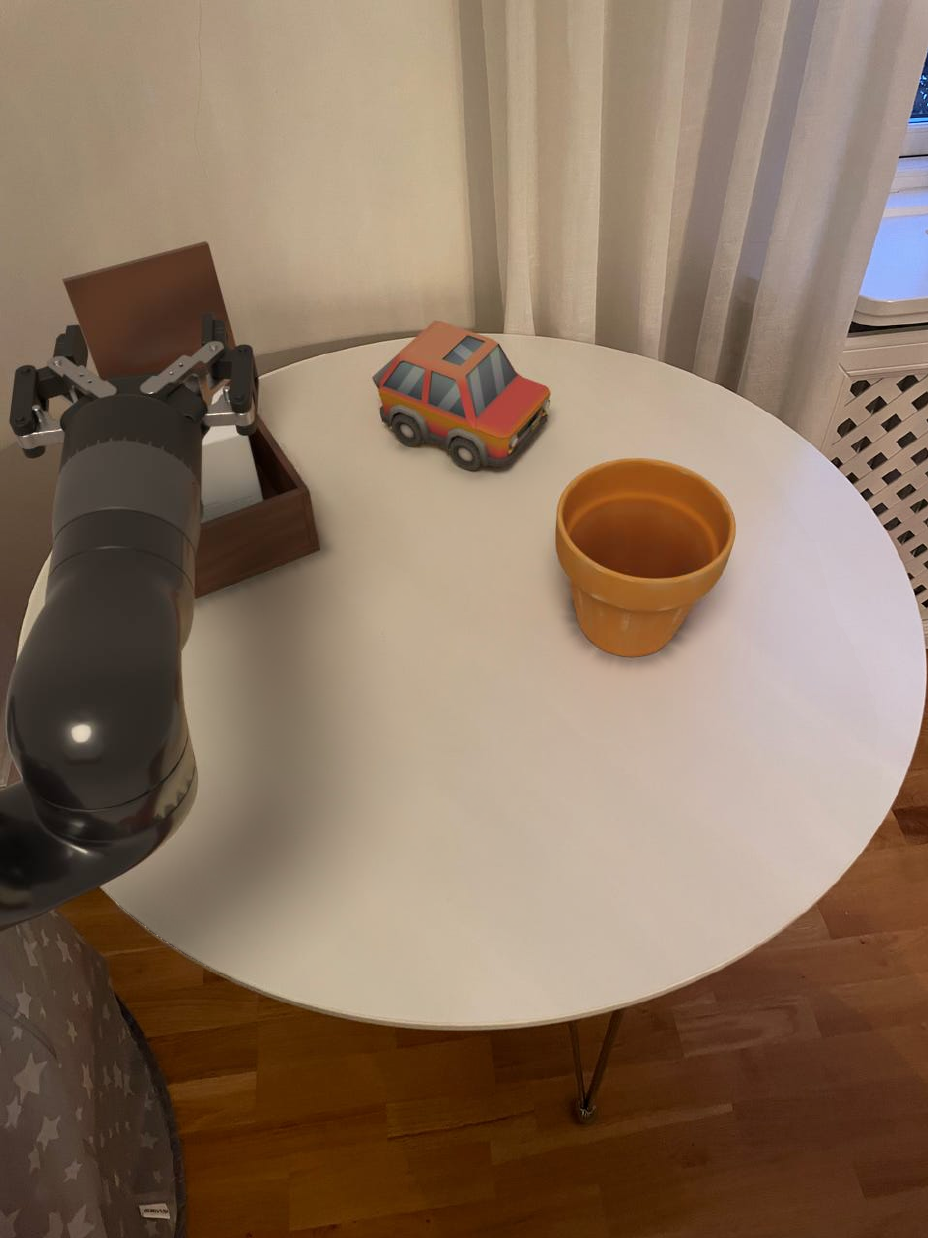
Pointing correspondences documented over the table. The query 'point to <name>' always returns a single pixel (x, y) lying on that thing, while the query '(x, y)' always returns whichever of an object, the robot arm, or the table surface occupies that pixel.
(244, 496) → the small box
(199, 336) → the lid
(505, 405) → the toy car
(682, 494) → the flower pot
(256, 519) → the case
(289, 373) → the table surface
